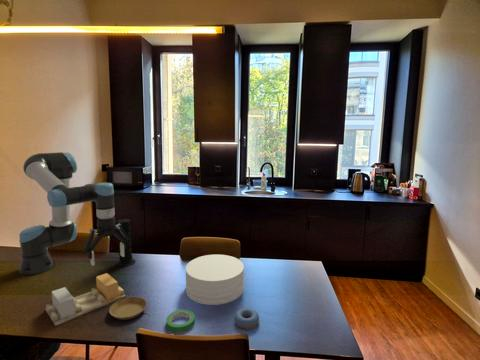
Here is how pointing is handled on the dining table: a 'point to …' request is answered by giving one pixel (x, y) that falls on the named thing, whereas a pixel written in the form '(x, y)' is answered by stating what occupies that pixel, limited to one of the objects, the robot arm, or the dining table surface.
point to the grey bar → (63, 302)
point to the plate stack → (214, 279)
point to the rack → (84, 305)
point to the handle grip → (127, 257)
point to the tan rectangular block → (107, 286)
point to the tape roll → (180, 327)
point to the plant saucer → (128, 308)
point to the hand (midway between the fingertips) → (108, 260)
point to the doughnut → (246, 318)
